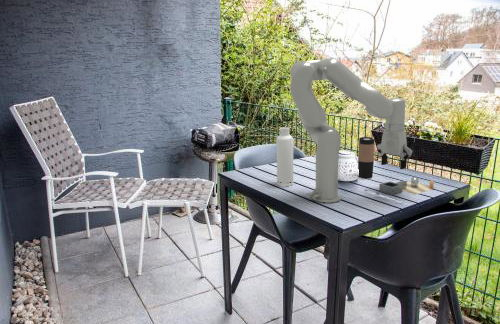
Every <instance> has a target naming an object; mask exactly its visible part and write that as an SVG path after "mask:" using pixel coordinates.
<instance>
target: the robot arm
mask: <svg viewBox="0 0 500 324" xmlns="http://www.w3.org/2000/svg"><path fill="white" fill-rule="evenodd" d="M289 75H290V77H291V80H290V85H289V86H290V90H289V91H290V95H291V98H292V100H293V102H294V104H295V105H296V108H297V110H298V117H299V120H300V122H301V124H302V125H303V126H302V127H304V129H305V131H306V132H307V134H308V136H309V137H310V139H311V140H312V141H313V142H314V144H316V152H315V188H313V191H312V192H308V193H306V196H307V198H309V199H310V198H312V201H313V200H314V201H315V202H318V203H323V202H325V203H324V204H331V203H332V202H333V203H337V202H339V201H341V200H342V195H341V194H340V193H339V191H338V190H339V158H340V157H339V155H340V148H341V143H342V142H341V139H342V138H341V135H340V133H339V131H338V130H337V129H336V128H334V127H333V126H331V125H329V124H328V122H327V121H326V120H327V114H326V112H325V109H324V108H323V107H322V105H321V103H320V102H319V100H318V99H317V97H316V95H315V93H314V91H313V86H312V84H313V82H314V81H321V80H327V81H328V82H329V83H331V84H332V85H333V86H334V87H336V88H337V89H338V90H339V91H340V92H341V93H343V94H344V95H346V96H347V97H348V98H350V99H351V100H354V101H355V102H358V103H360V104H361V105H363V106H365V112H366V113H367V114H368V115H369V116H371V117H374V118H378V119H381V120H385V123H383V127H384V128H385V129H384V130H383V132H382V135H381V143H379V144H377V145H376V147H377V150H378V152H379V155H380V156H381V165H382V166H385V165H387V164H388V155H393V156H397V157H398V156H399V157H400V159H401V160H400V161H399V169H400V170H405V169H406V168H407V162H408V161H407V160H408V159H409V158H410V157H411V155H413V154H412V153H413V150H412V149H411V148H410V147H408V146H407V145H408V143H407V142H408V141H407V140H408V139H407V132H406V131H405V121H406V120H405V119H406V117H405V116H406V100H405V99H404V98H400V97H392V98H389V99H388V98H387V97H386V96H385V95H383V93H381V92H380V91H378V90H377V89H376V88H374V87H372V86H371V85H370V84H368V83H367V82H366V81H365V80H363V79H361V78H360V77H359V76H358V75H356V74H355V73H354V72H353V71H352V70H351V69H350V68H348V66H346V65H344V64H343V63H342V62H341V61H340V60H339V59H336V58H334V57H333V58H322V59H315V60H303V61H302V60H301V61H296V62H295V63H294V64H292V65H291V67H290V69H289Z"/></svg>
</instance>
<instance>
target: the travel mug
mask: <svg viewBox="0 0 500 324" xmlns="http://www.w3.org/2000/svg"><path fill="white" fill-rule="evenodd" d="M375 141H376V139H375V138H372V137H369V136H364V137H359V138H358V151H357V152H358V153H357V155H358V156H357V157H358V158H357V166H358V167H357V170H358V169H359V177H358V179H359V178H360V179H372V178H373V177H374V176H373V174H374V164H375V163H374V162H375Z"/></svg>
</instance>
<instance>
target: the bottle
mask: <svg viewBox="0 0 500 324" xmlns="http://www.w3.org/2000/svg"><path fill="white" fill-rule="evenodd" d="M290 129H291V128H290V127H288V126H287V127H283V126H282V127H279V131H280V133H279V134H278V136H277V137H276V138H275V139H276V141H275V142H276V143H275V144H276V185H277V184H278V185H280V186H279V187H281V186H290V187H292V186H291V185H293V186H294V138H293V136H292V135H291V134H290ZM279 182H281V183H279ZM290 182H291V183H290ZM278 185H277V186H278Z"/></svg>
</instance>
